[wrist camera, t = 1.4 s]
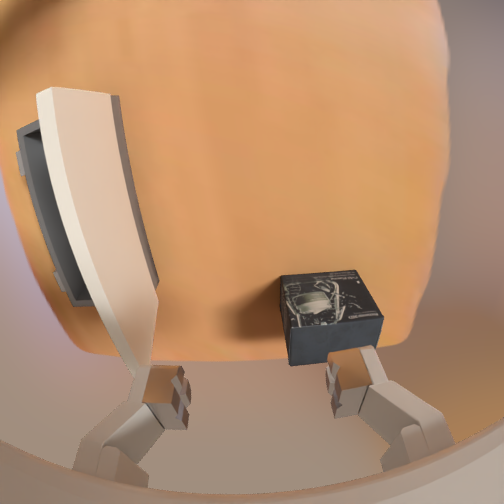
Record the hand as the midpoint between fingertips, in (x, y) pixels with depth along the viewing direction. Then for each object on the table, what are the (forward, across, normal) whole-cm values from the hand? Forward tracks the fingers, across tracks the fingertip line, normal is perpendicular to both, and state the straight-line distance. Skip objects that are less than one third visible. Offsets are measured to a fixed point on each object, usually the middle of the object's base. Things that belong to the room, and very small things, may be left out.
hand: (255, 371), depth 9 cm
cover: (+14, +12, 0) cm, 19 cm away
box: (+26, -8, +16) cm, 31 cm away
